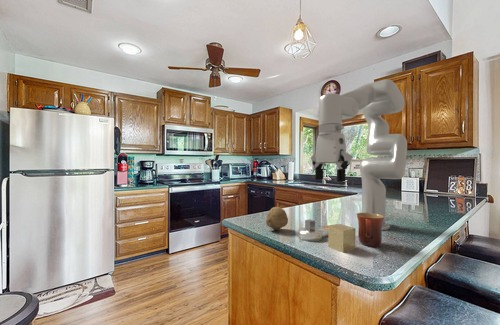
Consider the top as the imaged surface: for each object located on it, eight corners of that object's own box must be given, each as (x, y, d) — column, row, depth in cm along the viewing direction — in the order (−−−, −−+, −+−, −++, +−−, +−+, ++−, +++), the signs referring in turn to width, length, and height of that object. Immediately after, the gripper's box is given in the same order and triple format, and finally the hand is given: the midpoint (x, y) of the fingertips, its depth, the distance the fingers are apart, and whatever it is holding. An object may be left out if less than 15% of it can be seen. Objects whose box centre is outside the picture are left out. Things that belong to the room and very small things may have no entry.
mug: (357, 238, 85) (357, 211, 85) (384, 242, 80) (384, 214, 80) (353, 248, 75) (353, 217, 75) (383, 254, 70) (383, 221, 70)
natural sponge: (292, 230, 94) (292, 207, 94) (278, 235, 88) (278, 210, 88) (276, 226, 100) (276, 204, 100) (262, 229, 95) (262, 206, 95)
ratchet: (333, 228, 98) (333, 213, 98) (350, 233, 90) (350, 217, 90) (293, 235, 87) (293, 219, 87) (309, 242, 79) (309, 224, 79)
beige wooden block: (340, 243, 79) (340, 223, 79) (355, 249, 74) (355, 228, 74) (328, 246, 76) (328, 226, 76) (343, 252, 71) (343, 230, 71)
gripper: (359, 128, 70) (359, 182, 70) (319, 134, 86) (319, 178, 86) (343, 126, 67) (342, 182, 67) (304, 133, 82) (304, 179, 82)
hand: (329, 180), depth 76 cm, fingers open, 9 cm apart
